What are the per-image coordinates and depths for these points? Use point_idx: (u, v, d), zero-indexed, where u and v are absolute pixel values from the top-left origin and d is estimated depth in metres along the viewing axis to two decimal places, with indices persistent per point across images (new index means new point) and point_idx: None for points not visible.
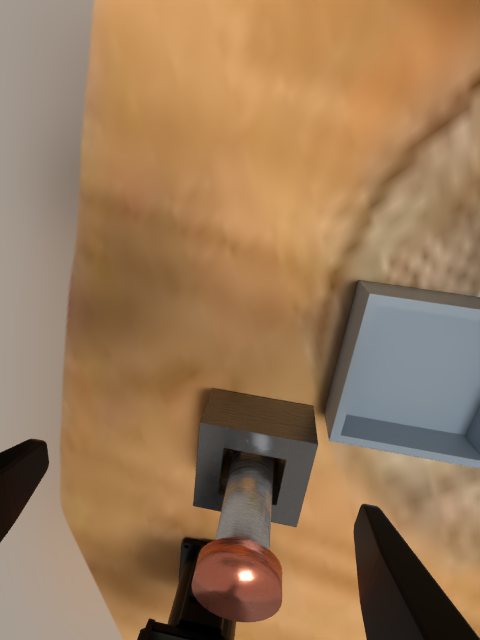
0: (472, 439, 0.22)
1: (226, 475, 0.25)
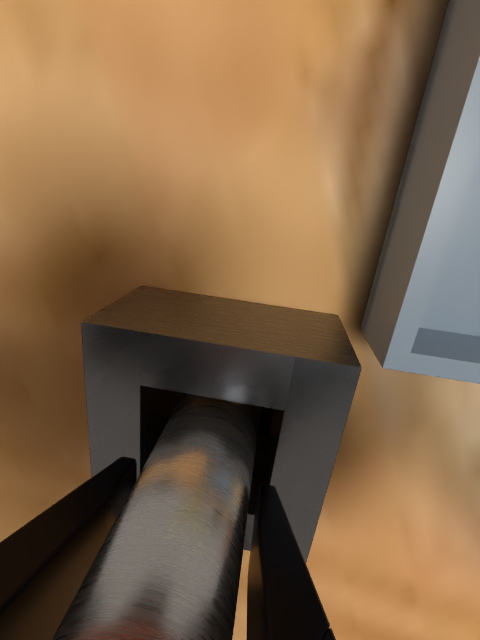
0: None
1: None
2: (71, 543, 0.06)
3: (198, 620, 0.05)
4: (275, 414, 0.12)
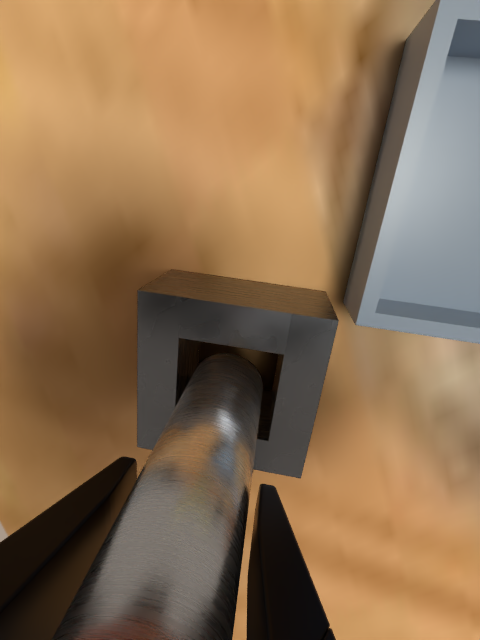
0: None
1: None
2: (71, 543, 0.06)
3: (198, 619, 0.05)
4: (277, 369, 0.16)
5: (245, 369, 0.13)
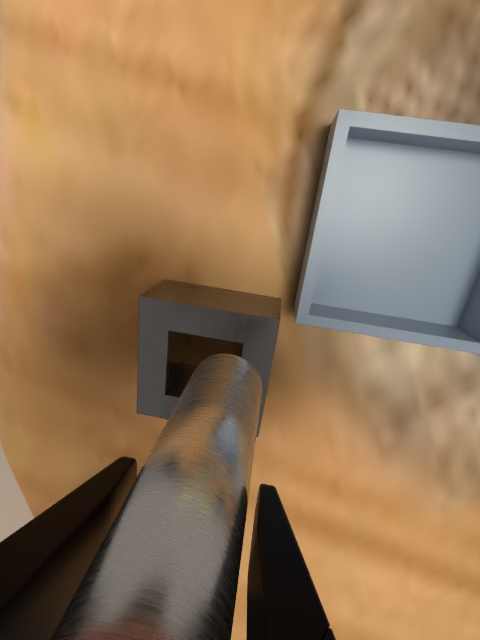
0: (465, 326, 0.18)
1: (178, 381, 0.21)
2: (71, 543, 0.06)
3: (196, 620, 0.05)
4: None
5: (244, 369, 0.13)
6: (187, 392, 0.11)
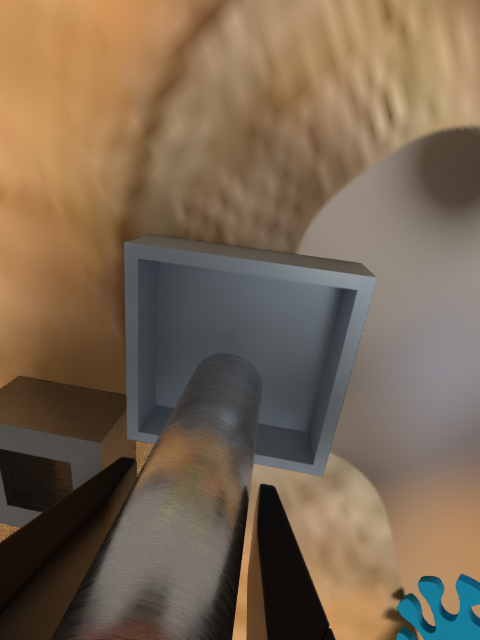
0: (311, 437, 0.17)
1: (33, 482, 0.20)
2: (71, 543, 0.06)
3: (198, 622, 0.05)
4: None
5: (244, 369, 0.12)
6: (187, 392, 0.11)
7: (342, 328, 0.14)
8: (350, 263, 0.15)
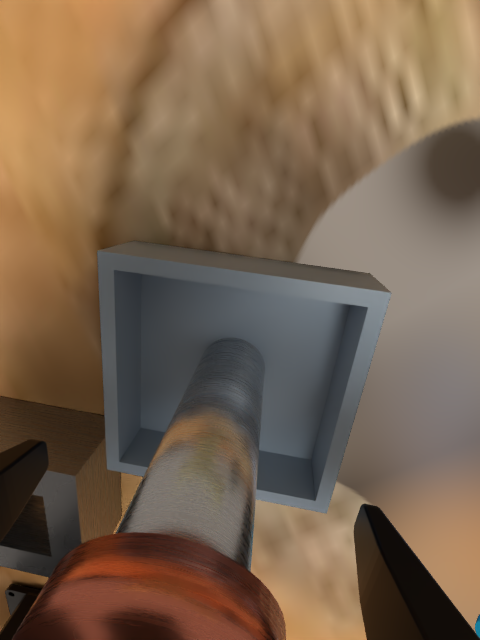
0: (313, 466, 0.16)
1: None
2: None
3: (228, 524, 0.07)
4: None
5: (249, 350, 0.14)
6: (200, 369, 0.12)
7: (349, 349, 0.12)
8: (358, 274, 0.13)
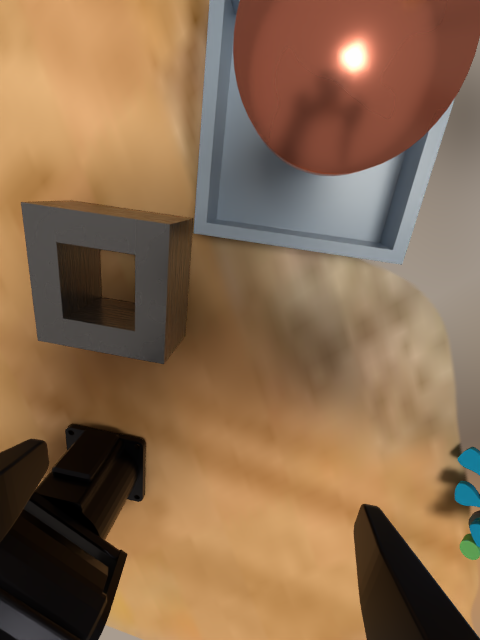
0: (384, 239, 0.17)
1: (86, 309, 0.20)
2: None
3: None
4: None
5: None
6: None
7: None
8: None
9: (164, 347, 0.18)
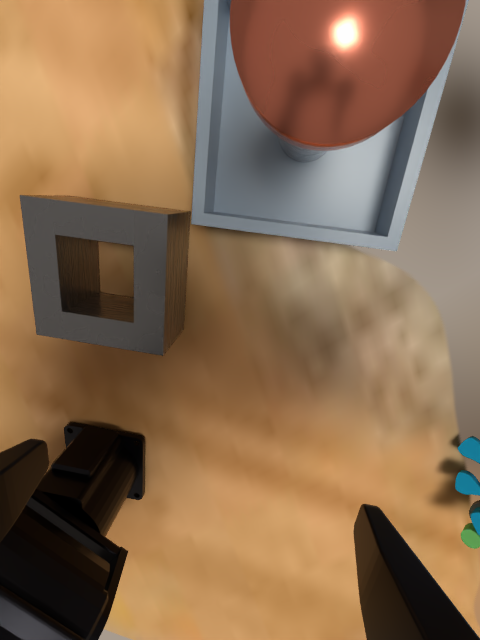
0: (379, 228, 0.17)
1: (84, 303, 0.20)
2: None
3: None
4: None
5: None
6: None
7: None
8: None
9: (163, 338, 0.18)
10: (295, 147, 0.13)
